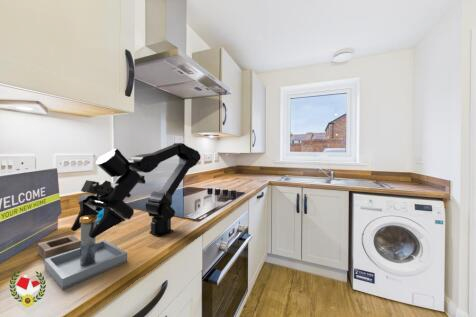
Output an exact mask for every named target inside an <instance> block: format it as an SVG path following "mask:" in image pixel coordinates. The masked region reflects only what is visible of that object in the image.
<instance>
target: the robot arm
mask: <svg viewBox="0 0 476 317" xmlns="http://www.w3.org/2000/svg"><path fill="white" fill-rule="evenodd" d="M175 156H177V157H178V165H177V166H176V167H175V169H174V170H173V172H172V173H171V174H170V176H169V177H168V179H167V180H166V182H165V183H164V185H163V186H162V188H160V190H159V191H155V190H154V191H153V192H151V194H150V196H149V197H148V198H147V199H146V202H145V205H144V206H145V210H146V213H147V214H148V216H149V217H151V222H150V230H149V234H151V235H154V236H156V237H159V238H160V237H162V236H165V235H168V234H170V233H172V232H174V229H172V226H171V225H172V218H174V217H175V214H176V210H175V209H174V208H173V207H172V204H173V195H174V194H175V192H176V190H177V189H178V188H179V186H180V184H181V183H182V181H183V180H184V178H185V176H186V175H187V173H188V172H189V171H190V169H192V168H193V167H195V166H197V164H198V163H199V162H200V160H201V154H200V152H199V151H198V150H197V149H194V148H192V147H190V146H188V145H186V144H185V143H183V142H176V143H175V142H174V143H173V144H172V145H169V146H167V147H163V148H161V149H158V150H156V151H154V152H151V153H143V154H138V155H133V156H131V158H129V159H127V158H126V157H125V156H124V155H123V154H122V152H121V151H120V150H119V148H113V149H111V150H110V151H108V152H106V153H104V154H102V155H100V156H99V157H98V158H97V159H96V161H95V165H97V166H98V167H99V168H100V169H101V170H103V171H104V172H105V173H106V174H107V175H108V176H109V177H110V178H113V177H117V178H116V179H115V180H114V181H113V182H111V181H110V180H104V179H101V181H93V180H85V182H84V184H83V185H82V188H81V190H80V192H83V193H85V194H82V195H81V196H80V197H79V198H78V199H77V201H78V205H79V212H78V214H77V216H76V219H75V221H74V222H73V224H72V226H71V228H70V230H71V231H73V232H76V231H77V230H79V229H81V223H80V218H81V217H83V216H87V215H98V214H99V213H98V212H99V211H101V210H102V209H104V215H103V217H102V219H101V220H100V221H99V222H98V223H97V224H96V227H95V228H94V230H93V231H92V233H91V234H90V237H91V238H95V237H98V236H99V235H101V234H103V233H105V232H106V231H109V229H111V228H113V227H115V226H116V225H118V224H120V223H122V222H123V223H124V222H125V221H126V220H128V221H129V220H131V219H132V217H133V216H134V213H135V212H134V211H135V209H134V208H132V206H130V205H128V203H126V202H125V199H126V198H127V199H128V198H130V197H132V194H131V192H132V191H133V189H134V188H135V187H136V186H137V184H141V185H145V184H146V179H145V175H143V174H142V175H141V174H140V173H151V172H153V171H154V170H155V169H156V168H158V166H159V164H160V163H162V162H164V161H166V160H168V159H171V158H173V157H175ZM96 211H97V212H96Z"/></svg>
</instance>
